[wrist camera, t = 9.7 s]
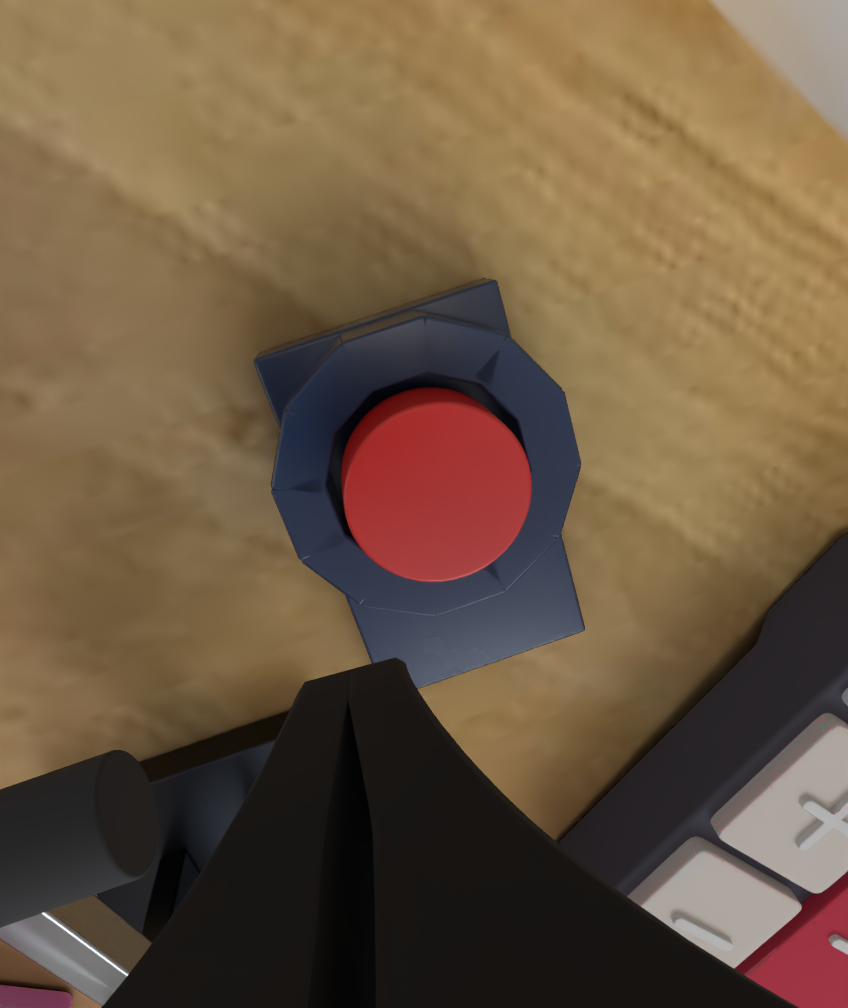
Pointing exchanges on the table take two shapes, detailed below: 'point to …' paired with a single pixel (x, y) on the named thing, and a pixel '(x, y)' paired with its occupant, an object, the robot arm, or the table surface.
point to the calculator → (750, 806)
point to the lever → (76, 868)
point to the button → (434, 485)
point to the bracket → (192, 817)
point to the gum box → (33, 998)
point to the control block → (318, 490)
